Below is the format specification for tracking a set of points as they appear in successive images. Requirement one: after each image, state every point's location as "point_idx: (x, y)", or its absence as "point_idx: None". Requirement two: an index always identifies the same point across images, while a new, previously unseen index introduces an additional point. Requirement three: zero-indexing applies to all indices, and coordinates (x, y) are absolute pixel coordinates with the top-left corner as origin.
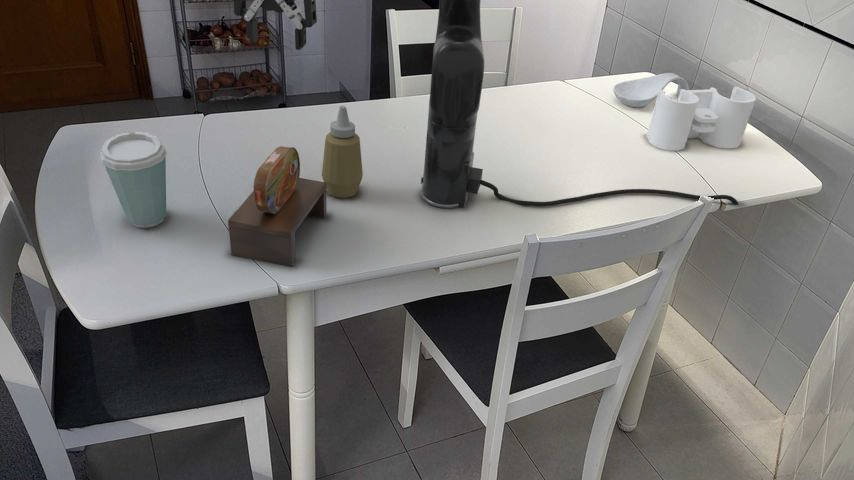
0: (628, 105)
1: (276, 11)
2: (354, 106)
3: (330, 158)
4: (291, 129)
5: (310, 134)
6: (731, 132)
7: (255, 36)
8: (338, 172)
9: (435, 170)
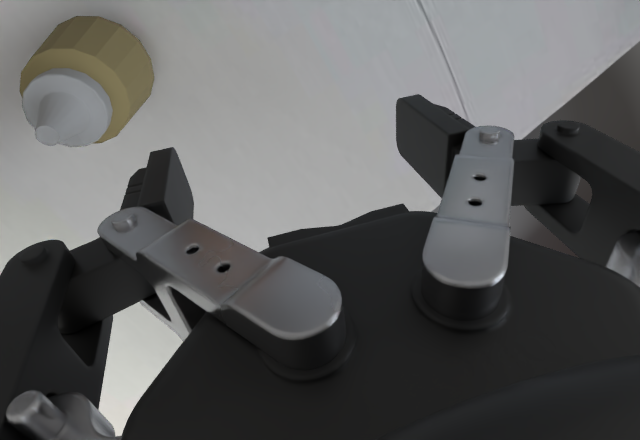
0: None
1: (311, 231)
2: None
3: (85, 35)
4: (337, 210)
5: (301, 214)
6: None
7: (405, 131)
8: (65, 26)
9: None
